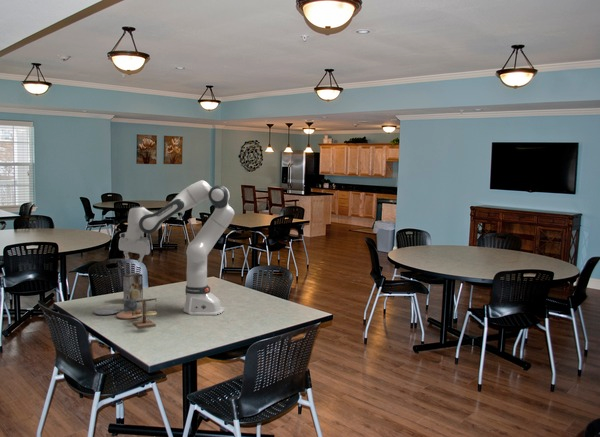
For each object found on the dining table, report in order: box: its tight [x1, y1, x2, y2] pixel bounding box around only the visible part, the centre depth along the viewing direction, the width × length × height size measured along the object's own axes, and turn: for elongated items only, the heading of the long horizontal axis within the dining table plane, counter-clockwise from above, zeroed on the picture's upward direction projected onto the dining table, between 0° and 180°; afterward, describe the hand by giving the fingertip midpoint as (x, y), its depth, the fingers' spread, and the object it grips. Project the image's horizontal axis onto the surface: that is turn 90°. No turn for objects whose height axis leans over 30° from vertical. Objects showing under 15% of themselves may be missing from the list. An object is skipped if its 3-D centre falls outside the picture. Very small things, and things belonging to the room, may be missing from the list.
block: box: [123, 298, 138, 312], centre depth 285 cm, size 5×5×6 cm
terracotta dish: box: [116, 310, 141, 320], centre depth 274 cm, size 13×13×1 cm
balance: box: [132, 297, 158, 330], centre depth 258 cm, size 23×8×15 cm, turn 37°
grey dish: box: [93, 306, 121, 316], centre depth 280 cm, size 13×13×1 cm
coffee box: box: [122, 272, 144, 301], centre depth 303 cm, size 9×6×16 cm
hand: (133, 260), depth 285 cm, fingers open, 8 cm apart
